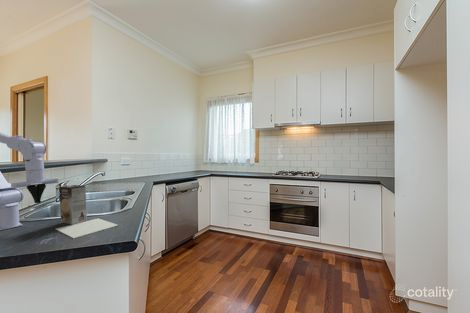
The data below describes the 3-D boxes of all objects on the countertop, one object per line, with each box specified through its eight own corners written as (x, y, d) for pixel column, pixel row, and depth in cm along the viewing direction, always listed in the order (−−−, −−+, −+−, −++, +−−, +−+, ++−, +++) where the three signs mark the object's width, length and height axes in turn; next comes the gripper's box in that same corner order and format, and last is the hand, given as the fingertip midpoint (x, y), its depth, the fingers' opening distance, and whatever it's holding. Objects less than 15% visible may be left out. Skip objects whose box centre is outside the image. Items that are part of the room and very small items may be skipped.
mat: (55, 229, 89) (55, 228, 88) (98, 218, 102) (98, 218, 102) (73, 238, 78) (73, 237, 78) (118, 225, 92) (118, 224, 92)
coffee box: (60, 223, 97) (58, 187, 97) (75, 218, 102) (73, 184, 102) (72, 224, 93) (70, 187, 93) (87, 220, 99) (86, 185, 99)
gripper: (13, 172, 83) (15, 207, 83) (59, 168, 95) (62, 199, 95) (8, 172, 87) (11, 206, 87) (54, 168, 99) (56, 198, 99)
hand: (37, 202), depth 91 cm, fingers closed
